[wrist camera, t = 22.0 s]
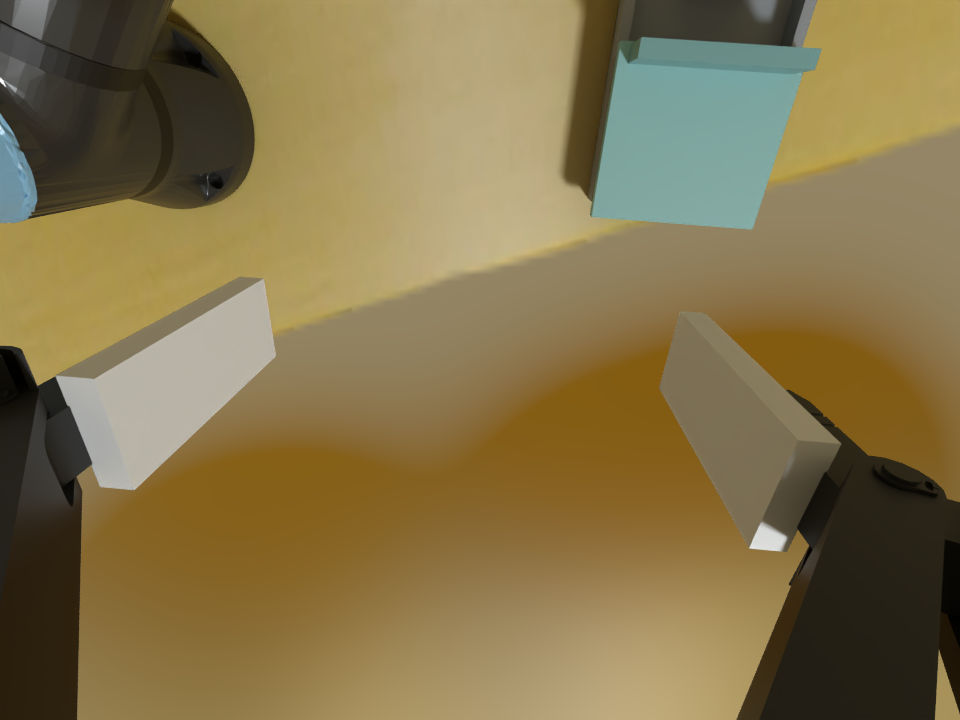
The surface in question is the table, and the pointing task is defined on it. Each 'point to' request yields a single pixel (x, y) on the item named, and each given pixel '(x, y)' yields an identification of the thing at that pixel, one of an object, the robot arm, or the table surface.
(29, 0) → the robot arm
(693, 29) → the tray
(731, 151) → the lid
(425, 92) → the table surface
